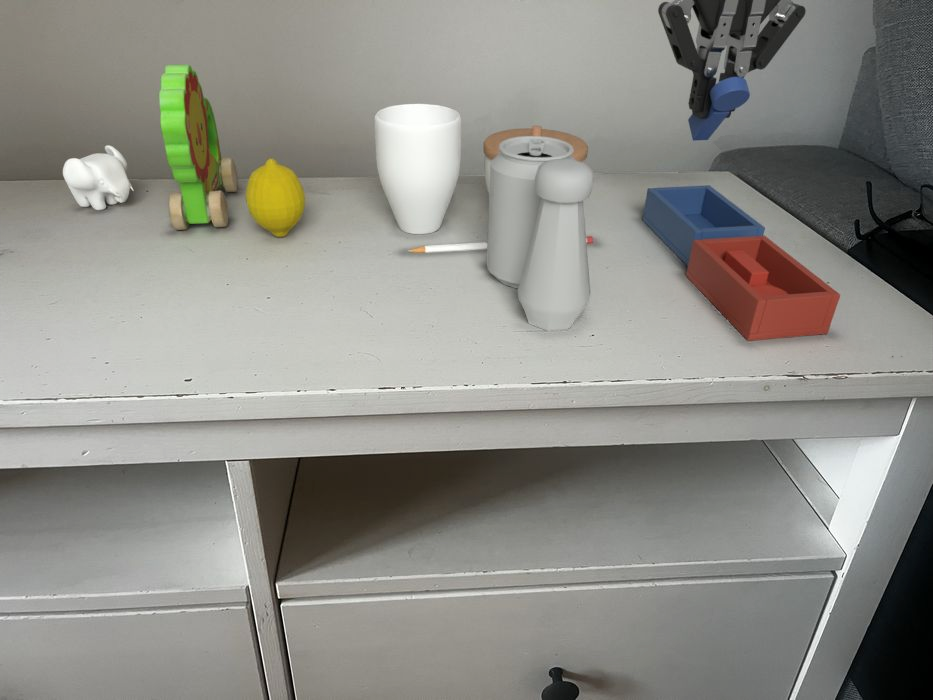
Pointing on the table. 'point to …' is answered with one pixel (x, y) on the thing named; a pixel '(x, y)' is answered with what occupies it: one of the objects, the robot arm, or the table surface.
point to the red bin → (744, 306)
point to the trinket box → (495, 139)
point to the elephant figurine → (98, 179)
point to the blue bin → (695, 217)
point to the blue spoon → (720, 106)
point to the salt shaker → (558, 247)
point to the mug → (418, 162)
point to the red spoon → (751, 272)
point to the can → (516, 201)
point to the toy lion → (193, 151)
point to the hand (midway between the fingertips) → (710, 115)
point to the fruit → (275, 198)
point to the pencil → (462, 247)
